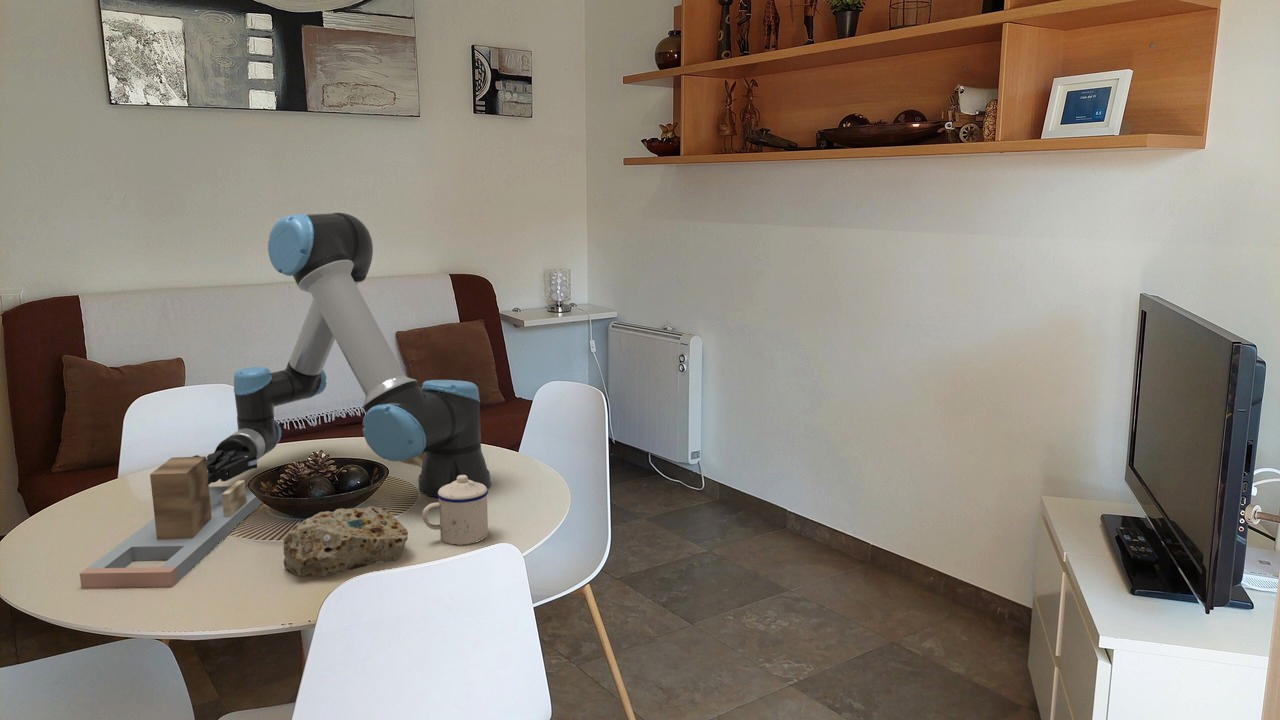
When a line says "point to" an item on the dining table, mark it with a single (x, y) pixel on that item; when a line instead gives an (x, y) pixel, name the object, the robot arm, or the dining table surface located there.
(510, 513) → the dining table surface
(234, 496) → the beech tunnel walls
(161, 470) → the walnut block
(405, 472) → the dining table surface
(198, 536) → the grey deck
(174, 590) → the dining table surface
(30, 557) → the dining table surface
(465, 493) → the teacup with lid
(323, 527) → the rock
